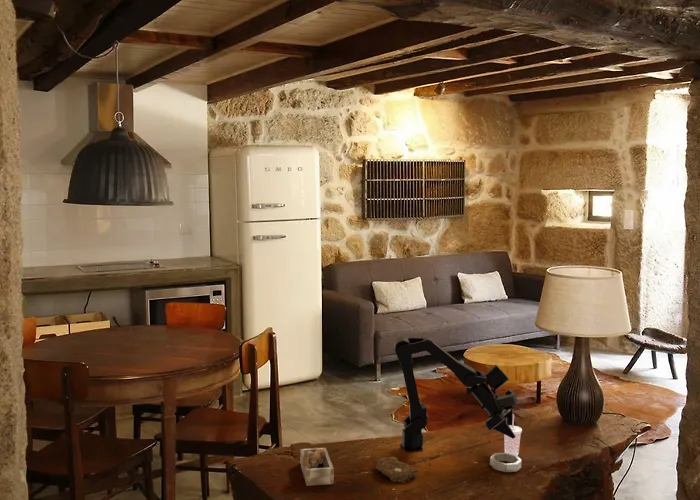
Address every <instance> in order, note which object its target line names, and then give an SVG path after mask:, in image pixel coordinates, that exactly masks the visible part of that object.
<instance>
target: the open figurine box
mask: <svg viewBox="0 0 700 500" xmlns="http://www.w3.org/2000/svg"><path fill="white" fill-rule="evenodd" d="M317 449H324V450H325V452H326V455H325V462H324V463H323V460H322V459H320V460H319V464H320V465H321V464H322V463H323V464H322V465H323V467H317V468H311V469H310V468H309V466H306V465H305V467H304V465H303V455H304V453H305V452H307V451H311V452H315V451H316V450H317ZM299 451H300V453H299V454H300V457H299V461H300V462H299V463H300V464H301V465H300V468H301V471H302V475H303V478H304V482H305V485H306V486H307V487H308V486H309V487H310V486H321V485H322V486H323V485H334V482H335V481H334V478H335V475H334V474H335V471H334V470H335V468H334V466H333V463H332V460H331V458H330V455H329V453H328V450H327V448H326V447H315V448H314V447H313V448H311V447H310V448H300V450H299ZM319 464H318V465H319Z"/></svg>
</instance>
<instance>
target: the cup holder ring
mask: <svg viewBox="0 0 700 500" xmlns="http://www.w3.org/2000/svg"><path fill="white" fill-rule="evenodd" d="M489 457H490V458H489V465H490V466H491V467H492V469H494V470H497V471H500V472H504V473H512V472H513V473H514V472H516V473H517V472H518V471H519V470H520V469H522V461H523V460H522V459H521V458H520V457H519V456H518V455H517V456H516V455H514V454H510V453H505V452H493V454H492V455H491V456H489ZM505 462H507V463H505Z"/></svg>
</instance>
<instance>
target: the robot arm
mask: <svg viewBox="0 0 700 500" xmlns="http://www.w3.org/2000/svg"><path fill="white" fill-rule="evenodd" d="M393 346H394V351H395V354H396V357H397V359H398V361H399V365H400V366H401V369H402V374H403V378H404V379H403V380H404V383H405V387H406V392H407V393H406V394H407V396H408V398H407V399H408V401H409V402H408V404H409V405H408V409H409V410H408V411H409V414H408V416H406V418H405V419H404V420H403V427H404V428H403V429H402V432H401V433H402V434H401V442H400V446H401V447H402V449H403V451H404V452H415V451H417V452H418V451H419V450H420V451H423V445H424V435H423V434H422V433H423V432H422V430H424V428H426V426H428V425H427V424H428V420H429V415H428V412H427V406H426V403H425V402H423V403H422V402H421V400H420V398H419V397H420V396H419V392H418V388H417V382H416V378H415V374H414V369H413V354H419V353H424V352H427V353H428V354H430V355H431V356H432V357H434V358H435V359H436V360H438V362H440V363H442V365H444V366H445V367H446V368H447V369H449V370H450V371H451V372H452V373H453V374H454V375H455V377H456V378H457V379H458V380H459V381H460V382H461V383H462V385H463V386H464V387H466V396H469V395H471V394H472V395H473V396H474V398H475V399H476V400H477V401H478V402H479V404H480V405H481V406H480V408H481V409H482V410H485V411H486V413H488V419H487V420H486V421H485V427H486V428H487V430H488V431H492V430H494V431H496V432H499V433H501V434H503V435H504V434H505V435H507V436H509V437H511V438H513V439H514V438H515V435H514V433H513V431H512V430H511V428H510V427H509V425H512V421H513V414H514V409H515V408H514V406H516V405H517V403H518V402H519V401H518V398H517V396H518V395H517V394H516V393H515V391H514V392H513V391H512V389H508V390H506V391H505V394H503V395H501V396H500V395H499V394H498V393H495V394H494V392H493V391H492V390H498V389H500V388H501V387H503V385H504V384H506V383H507V382H508V381H509V380H510V378H509V377H508V375H507V374H506V373H505V372H504V370H502V369H501V368H500V367H499V366H498V365H497V364H494V365H493V366H492V367H491V368H490V369H489V370H488V371H486V372H485V373H484V371H479V370H475V369H474V368H473V367H471V366H470V365H468V364H466V363H464V362H461V361H459V360H458V359H456V358H455V357H453V356H452V355H451V354H450V353H449V352H447V351H446V350H445V349H444V348H443V347H441V346H440V345H438V344H437V343H435V342H434V341H433V339H432V338H430V337H428V336H426V337H405V336H398V337H397V338H395V340H394V342H393ZM486 383H487V384H486ZM491 389H492V390H491ZM511 408H512V409H511ZM514 426H518V424H517V422H516V419H515V418H514Z"/></svg>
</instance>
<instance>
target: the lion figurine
mask: <svg viewBox="0 0 700 500" xmlns="http://www.w3.org/2000/svg"><path fill="white" fill-rule="evenodd" d="M325 455H326V452H325V450H324V449H317V450H316V451H315V452H311V451H307V452H305V453H304V455H303V465H304V467H305V465H306V466H309V468H310V469H311V468H319V460H320V459H322V460H323V463H324V462H325Z"/></svg>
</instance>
